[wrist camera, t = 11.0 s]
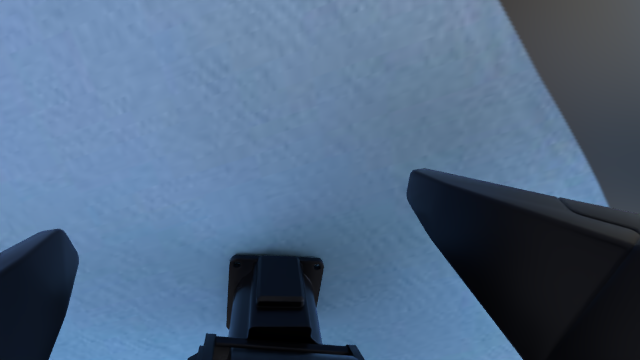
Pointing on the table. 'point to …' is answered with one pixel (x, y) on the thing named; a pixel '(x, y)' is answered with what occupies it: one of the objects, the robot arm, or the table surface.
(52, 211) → the table surface
